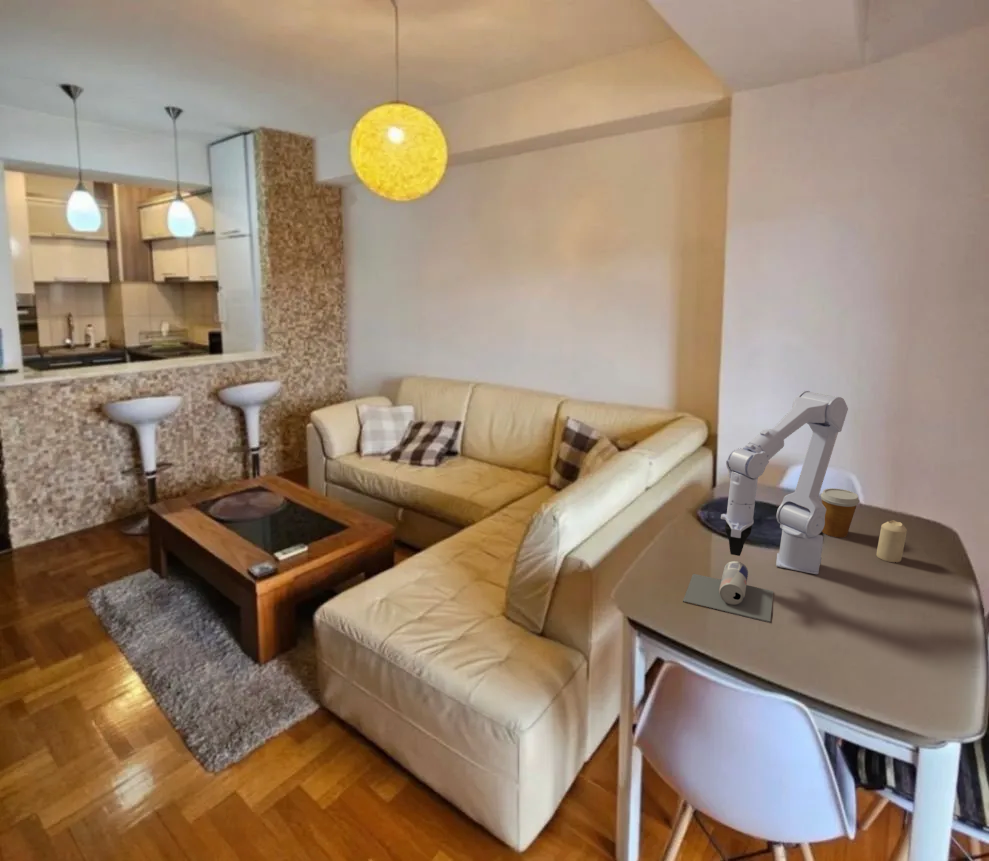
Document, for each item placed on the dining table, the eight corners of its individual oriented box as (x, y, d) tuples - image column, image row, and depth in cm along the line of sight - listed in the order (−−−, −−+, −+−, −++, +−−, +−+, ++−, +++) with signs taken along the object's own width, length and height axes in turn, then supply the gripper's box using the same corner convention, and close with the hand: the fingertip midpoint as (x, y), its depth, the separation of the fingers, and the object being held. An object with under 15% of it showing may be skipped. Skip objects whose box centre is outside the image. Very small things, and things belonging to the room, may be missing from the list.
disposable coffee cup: (860, 540, 164) (867, 500, 161) (826, 540, 164) (832, 499, 161) (841, 526, 173) (848, 487, 170) (809, 526, 173) (814, 487, 170)
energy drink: (742, 585, 141) (738, 609, 131) (720, 574, 143) (714, 598, 133) (751, 566, 139) (748, 590, 129) (729, 556, 141) (724, 579, 131)
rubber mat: (773, 592, 137) (773, 590, 137) (770, 622, 125) (770, 621, 125) (693, 574, 145) (693, 573, 145) (682, 601, 133) (682, 600, 133)
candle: (878, 560, 153) (884, 524, 150) (874, 551, 157) (880, 516, 155) (903, 564, 151) (910, 528, 148) (898, 555, 155) (905, 520, 153)
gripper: (726, 487, 144) (721, 538, 148) (719, 508, 132) (713, 563, 135) (758, 492, 141) (751, 544, 145) (753, 513, 129) (746, 570, 132)
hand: (735, 554), depth 140 cm, fingers closed
